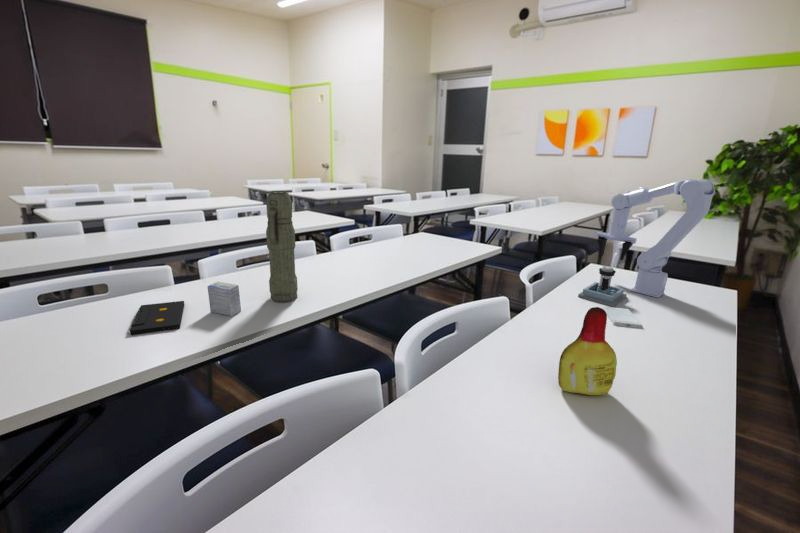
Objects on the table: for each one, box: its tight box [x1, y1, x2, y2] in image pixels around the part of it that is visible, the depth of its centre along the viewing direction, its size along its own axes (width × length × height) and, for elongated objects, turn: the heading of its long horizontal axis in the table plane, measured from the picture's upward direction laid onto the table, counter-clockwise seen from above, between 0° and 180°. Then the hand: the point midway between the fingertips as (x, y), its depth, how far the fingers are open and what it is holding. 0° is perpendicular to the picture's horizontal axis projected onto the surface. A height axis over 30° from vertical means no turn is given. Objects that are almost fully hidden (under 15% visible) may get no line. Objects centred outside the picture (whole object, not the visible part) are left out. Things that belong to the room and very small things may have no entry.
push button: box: [595, 265, 617, 295], centre depth 144 cm, size 7×5×10 cm
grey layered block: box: [207, 281, 242, 317], centre depth 120 cm, size 8×4×9 cm, turn 71°
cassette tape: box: [129, 300, 185, 336], centre depth 115 cm, size 18×12×2 cm, turn 24°
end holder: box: [577, 281, 628, 308], centre depth 144 cm, size 12×14×3 cm
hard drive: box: [601, 306, 644, 329], centre depth 127 cm, size 2×8×12 cm
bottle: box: [557, 306, 618, 396], centre depth 86 cm, size 12×6×20 cm, turn 86°
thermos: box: [265, 190, 298, 303], centre depth 128 cm, size 9×12×35 cm
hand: (611, 257), depth 162 cm, fingers open, 7 cm apart
